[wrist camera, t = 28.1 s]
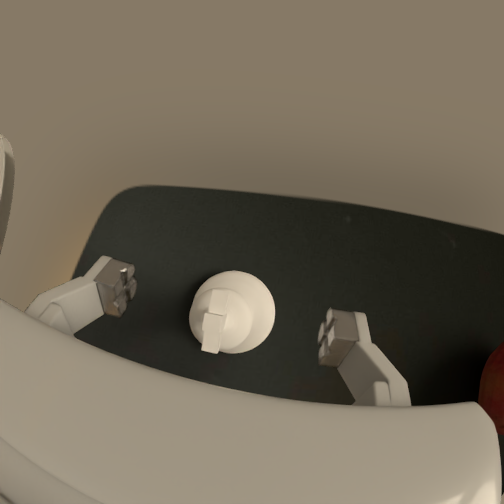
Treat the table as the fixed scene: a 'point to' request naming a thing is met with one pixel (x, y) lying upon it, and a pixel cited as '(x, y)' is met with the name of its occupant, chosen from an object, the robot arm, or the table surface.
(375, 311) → the table surface
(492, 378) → the fruit
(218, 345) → the chess piece
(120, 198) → the table surface
